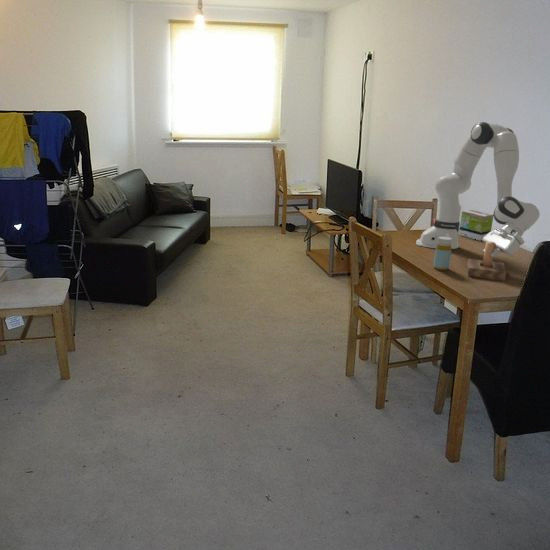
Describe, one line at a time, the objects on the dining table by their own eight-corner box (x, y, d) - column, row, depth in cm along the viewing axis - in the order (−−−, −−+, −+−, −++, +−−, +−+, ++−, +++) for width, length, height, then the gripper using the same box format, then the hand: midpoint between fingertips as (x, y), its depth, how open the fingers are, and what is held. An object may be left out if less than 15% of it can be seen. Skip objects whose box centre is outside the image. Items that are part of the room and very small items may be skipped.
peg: (481, 270, 259) (486, 243, 255) (481, 267, 263) (485, 241, 259) (491, 271, 258) (495, 244, 254) (490, 268, 262) (495, 242, 258)
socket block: (467, 276, 256) (468, 267, 255) (466, 266, 271) (468, 258, 269) (504, 280, 252) (506, 272, 251) (502, 270, 266) (503, 262, 265)
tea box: (457, 235, 331) (461, 210, 327) (468, 233, 337) (471, 209, 333) (479, 241, 320) (484, 215, 315) (490, 239, 326) (494, 214, 321)
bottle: (446, 271, 261) (450, 240, 256) (431, 268, 265) (435, 238, 260) (450, 268, 267) (454, 237, 262) (435, 265, 270) (439, 235, 266)
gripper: (493, 223, 266) (471, 243, 267) (520, 234, 247) (496, 255, 248) (499, 232, 268) (478, 252, 269) (527, 243, 249) (504, 265, 250)
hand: (487, 254), depth 258 cm, fingers closed on peg, 4 cm apart
